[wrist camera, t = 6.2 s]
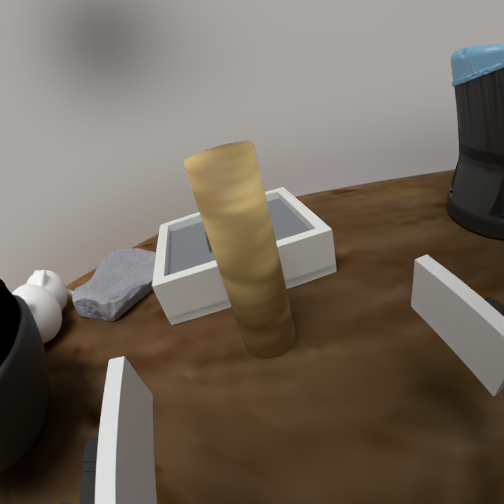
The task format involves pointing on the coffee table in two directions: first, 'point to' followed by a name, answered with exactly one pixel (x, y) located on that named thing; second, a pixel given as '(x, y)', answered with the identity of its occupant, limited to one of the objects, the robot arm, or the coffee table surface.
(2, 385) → the coal bowl
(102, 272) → the stone block
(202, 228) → the hole box
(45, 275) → the cat figurine
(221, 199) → the peg
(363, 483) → the coffee table surface
